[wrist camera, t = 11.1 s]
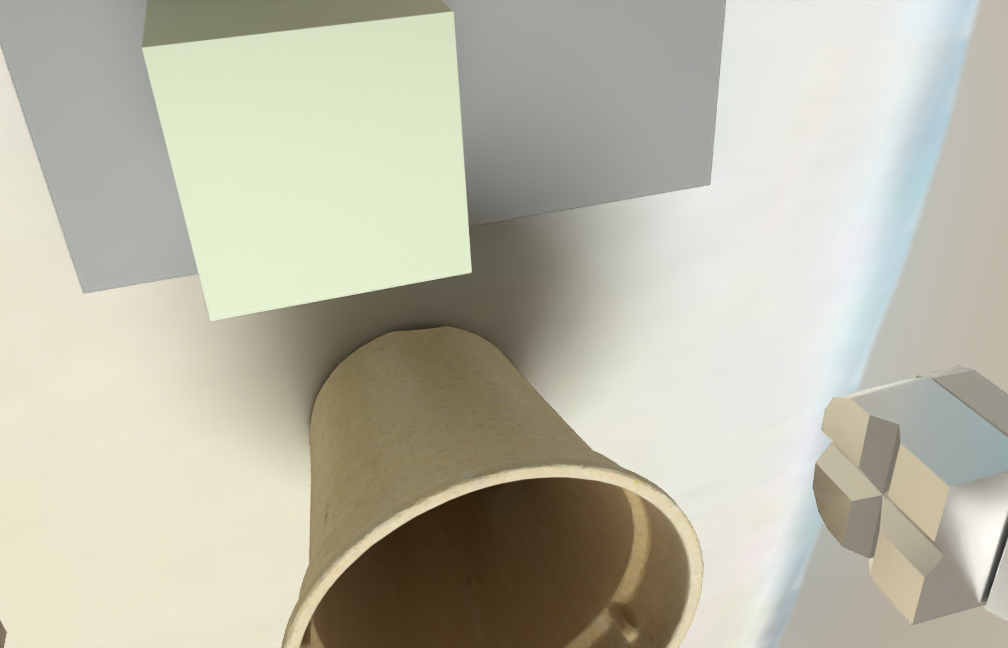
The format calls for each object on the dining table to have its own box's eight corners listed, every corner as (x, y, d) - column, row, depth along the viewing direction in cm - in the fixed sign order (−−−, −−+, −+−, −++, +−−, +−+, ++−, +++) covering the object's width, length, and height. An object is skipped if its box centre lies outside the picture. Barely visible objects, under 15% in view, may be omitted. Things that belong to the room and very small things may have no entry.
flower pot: (314, 226, 23) (377, 432, 16) (619, 309, 27) (778, 501, 20) (208, 513, 26) (222, 788, 19) (494, 547, 30) (592, 783, 23)
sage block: (148, -15, 18) (141, 47, 14) (394, -40, 19) (453, 11, 15) (203, 213, 21) (210, 320, 17) (416, 179, 22) (471, 272, 18)
